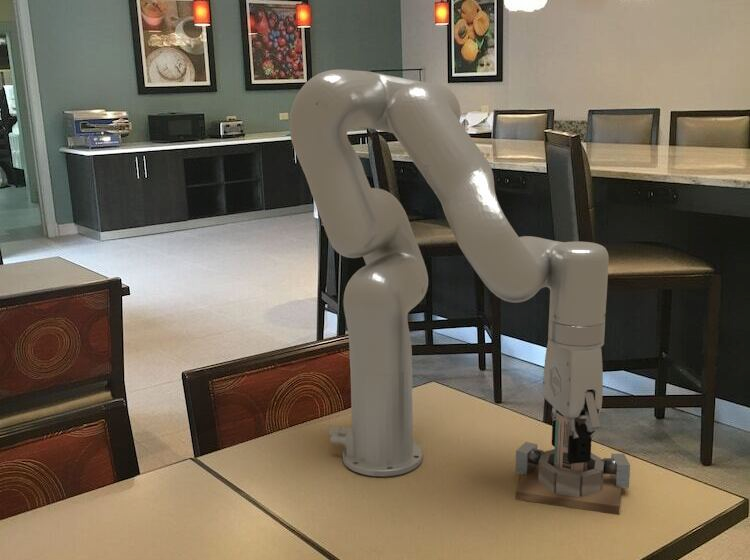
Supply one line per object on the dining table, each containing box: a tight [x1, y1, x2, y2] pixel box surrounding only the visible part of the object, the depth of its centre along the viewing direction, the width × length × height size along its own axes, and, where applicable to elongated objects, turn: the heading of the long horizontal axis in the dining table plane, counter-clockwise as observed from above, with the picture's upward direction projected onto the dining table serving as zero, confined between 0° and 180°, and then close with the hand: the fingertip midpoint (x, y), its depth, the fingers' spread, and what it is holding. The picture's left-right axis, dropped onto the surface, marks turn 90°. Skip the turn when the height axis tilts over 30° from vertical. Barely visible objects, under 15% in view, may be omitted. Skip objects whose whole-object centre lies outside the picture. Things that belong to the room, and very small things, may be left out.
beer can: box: [553, 410, 587, 473], centre depth 113 cm, size 5×5×12 cm
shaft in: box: [515, 441, 545, 475], centre depth 117 cm, size 3×4×4 cm
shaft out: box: [602, 453, 631, 489], centre depth 114 cm, size 3×4×4 cm
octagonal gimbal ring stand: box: [515, 448, 622, 515], centre depth 114 cm, size 14×11×4 cm
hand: (570, 452), depth 113 cm, fingers closed on beer can, 4 cm apart
